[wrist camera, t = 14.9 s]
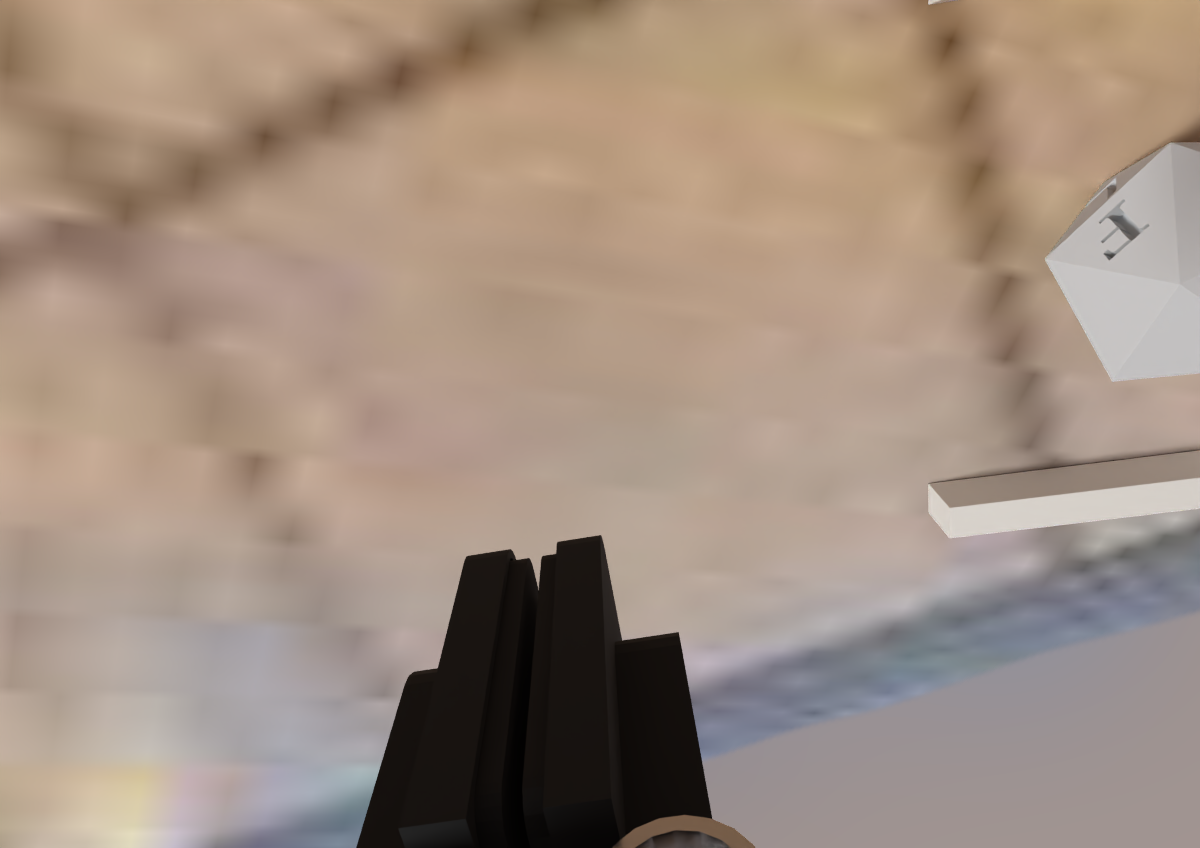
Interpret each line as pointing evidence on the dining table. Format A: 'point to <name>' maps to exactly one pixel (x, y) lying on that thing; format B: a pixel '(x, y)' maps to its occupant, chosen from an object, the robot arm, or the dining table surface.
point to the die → (1139, 266)
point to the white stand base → (1066, 492)
